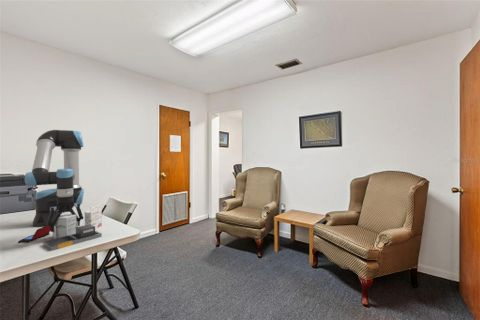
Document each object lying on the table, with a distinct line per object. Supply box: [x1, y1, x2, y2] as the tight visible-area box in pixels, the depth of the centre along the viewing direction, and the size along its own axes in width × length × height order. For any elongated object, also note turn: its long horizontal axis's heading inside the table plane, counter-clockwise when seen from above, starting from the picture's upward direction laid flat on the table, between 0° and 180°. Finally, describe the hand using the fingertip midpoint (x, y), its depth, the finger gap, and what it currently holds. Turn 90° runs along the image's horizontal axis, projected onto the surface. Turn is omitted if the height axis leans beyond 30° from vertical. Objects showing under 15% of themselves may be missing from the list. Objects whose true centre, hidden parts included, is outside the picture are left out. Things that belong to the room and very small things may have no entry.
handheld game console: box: [17, 226, 51, 244], centre depth 127 cm, size 12×11×7 cm
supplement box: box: [55, 213, 77, 238], centre depth 129 cm, size 7×7×13 cm
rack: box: [42, 230, 102, 251], centre depth 122 cm, size 12×23×3 cm, turn 146°
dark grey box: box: [76, 224, 96, 239], centre depth 127 cm, size 7×7×6 cm
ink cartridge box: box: [83, 204, 103, 230], centre depth 144 cm, size 9×5×15 cm, turn 168°
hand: (65, 234), depth 129 cm, fingers closed on supplement box, 10 cm apart
